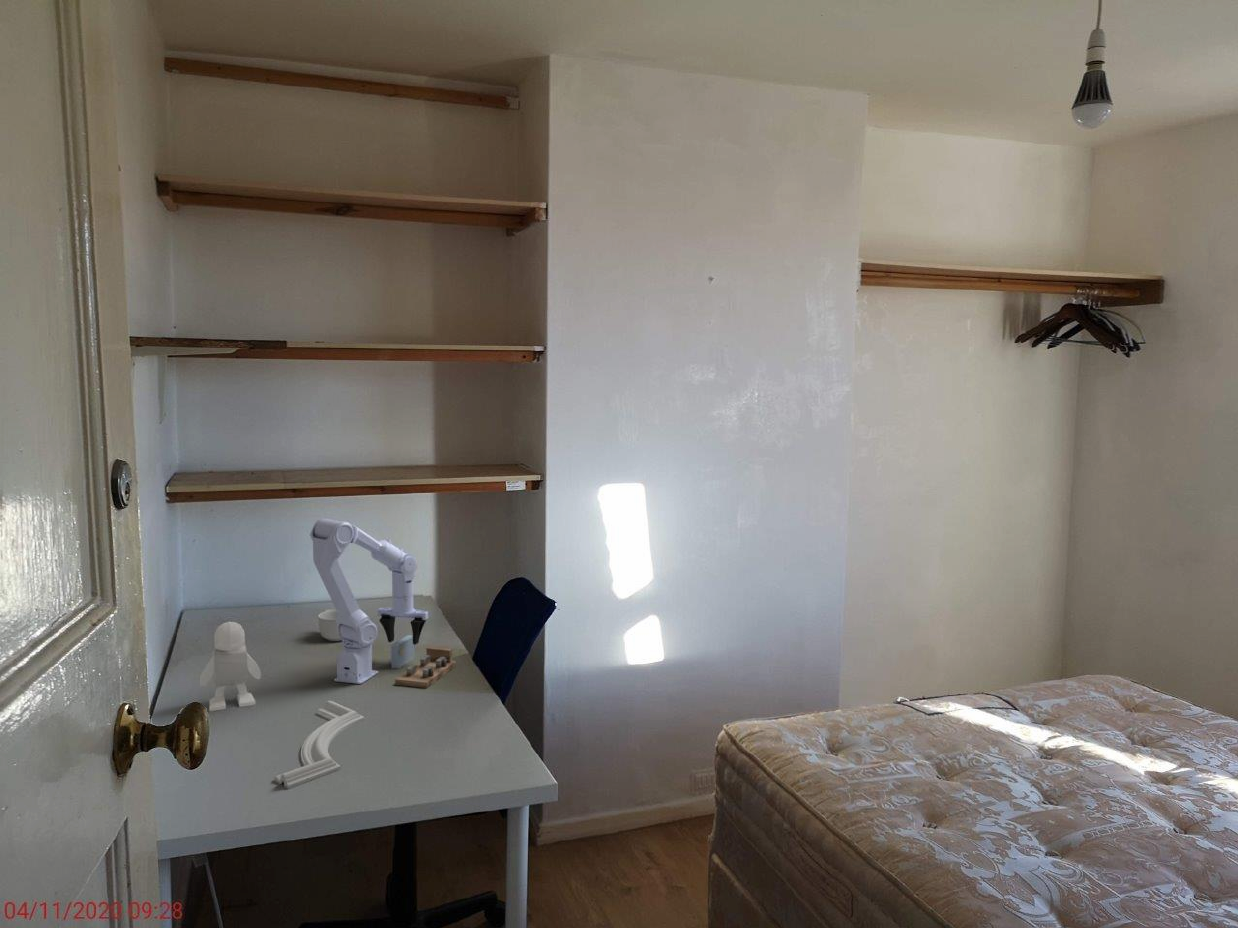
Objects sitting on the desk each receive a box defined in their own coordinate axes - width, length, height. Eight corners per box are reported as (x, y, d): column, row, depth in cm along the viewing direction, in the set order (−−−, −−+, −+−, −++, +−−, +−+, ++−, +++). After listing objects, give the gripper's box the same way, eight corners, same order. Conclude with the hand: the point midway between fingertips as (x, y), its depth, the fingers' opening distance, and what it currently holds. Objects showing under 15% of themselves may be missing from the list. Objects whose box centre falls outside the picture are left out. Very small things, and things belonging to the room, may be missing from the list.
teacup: (359, 640, 267) (359, 614, 266) (323, 645, 261) (322, 619, 260) (347, 629, 279) (347, 604, 278) (312, 633, 273) (311, 608, 272)
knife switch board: (427, 687, 227) (426, 669, 227) (395, 684, 229) (395, 666, 229) (455, 666, 245) (455, 648, 244) (426, 663, 247) (426, 645, 246)
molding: (319, 710, 213) (319, 698, 212) (371, 709, 214) (370, 697, 214) (268, 792, 171) (267, 777, 171) (332, 789, 172) (331, 775, 172)
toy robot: (200, 712, 209) (198, 630, 207) (199, 700, 216) (197, 620, 214) (263, 703, 215) (261, 623, 213) (260, 691, 223) (258, 614, 221)
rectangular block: (400, 668, 242) (400, 645, 241) (391, 667, 243) (391, 645, 242) (417, 657, 252) (417, 635, 251) (408, 656, 252) (408, 634, 252)
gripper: (433, 593, 248) (433, 640, 249) (386, 589, 251) (386, 636, 252) (421, 599, 241) (422, 647, 242) (373, 595, 244) (374, 643, 246)
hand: (403, 642), depth 247 cm, fingers open, 7 cm apart
